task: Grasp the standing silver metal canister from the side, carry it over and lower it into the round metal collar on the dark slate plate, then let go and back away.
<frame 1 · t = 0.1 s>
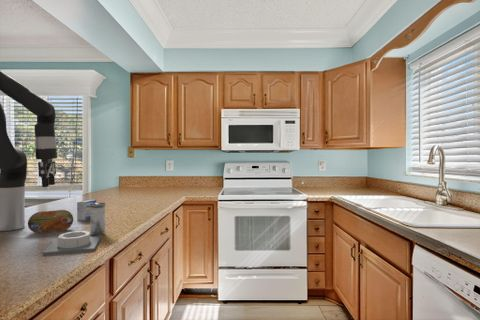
hand: (48, 185, 120), 17 cm above the countertop, tool pointing down, fingers open, 8 cm apart
medicine box: (87, 219, 135), on the countertop
collar: (74, 246, 94), on the countertop
tin: (51, 231, 113), on the countertop
silver metal canister: (97, 234, 109), on the countertop
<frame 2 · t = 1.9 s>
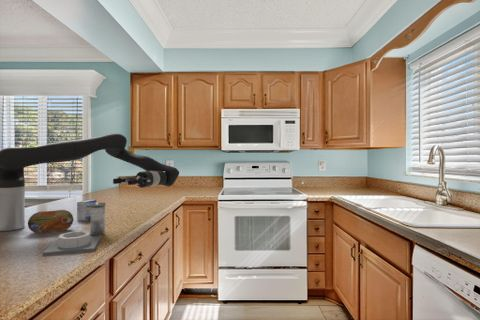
hand: (121, 181, 119), 19 cm above the countertop, tool horizontal, fingers open, 8 cm apart
nothing on the countertop moved.
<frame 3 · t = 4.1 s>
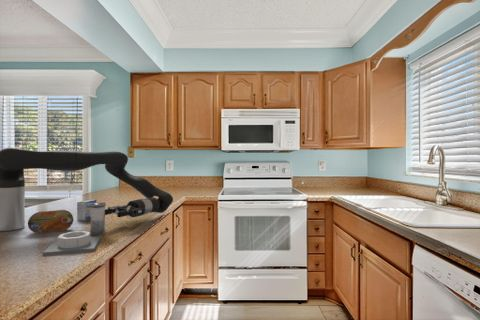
hand: (110, 213, 114), 7 cm above the countertop, tool horizontal, fingers open, 8 cm apart
nothing on the countertop moved.
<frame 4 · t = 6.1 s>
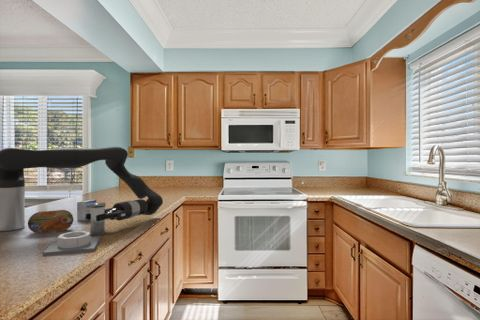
hand: (91, 217, 106), 7 cm above the countertop, tool horizontal, fingers closed on silver metal canister, 5 cm apart
silver metal canister: (97, 234, 109), on the countertop, touching gripper
everything else where it was.
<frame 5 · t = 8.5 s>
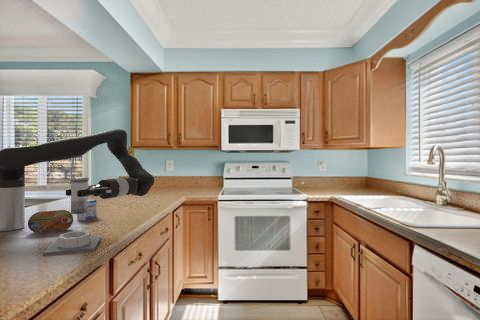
hand: (72, 193, 94), 18 cm above the countertop, tool horizontal, fingers closed on silver metal canister, 5 cm apart
silver metal canister: (79, 212, 96), point 11 cm above the countertop, touching gripper
everything else where it was.
when the fingers open (9 cm above the countertop, at t = 11.2 s): silver metal canister drops 1 cm, resting on collar.
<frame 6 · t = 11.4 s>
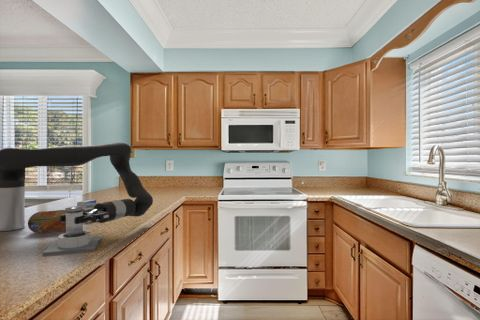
hand: (68, 219, 92), 10 cm above the countertop, tool horizontal, fingers open, 6 cm apart
silver metal canister: (74, 243, 94), point 1 cm above the countertop, touching collar
everything else where it was.
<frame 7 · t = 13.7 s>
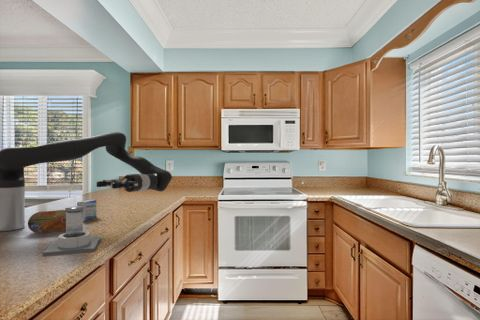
hand: (104, 184, 107), 19 cm above the countertop, tool horizontal, fingers open, 8 cm apart
nothing on the countertop moved.
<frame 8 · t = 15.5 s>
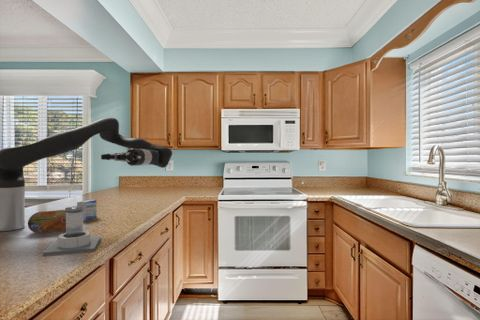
hand: (109, 157, 112), 30 cm above the countertop, tool horizontal, fingers open, 8 cm apart
nothing on the countertop moved.
at the end: silver metal canister 0.1 cm off-centre on the collar, point 1.1 cm above the collar's base; silver metal canister tilted 1°; the gripper is holding nothing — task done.
